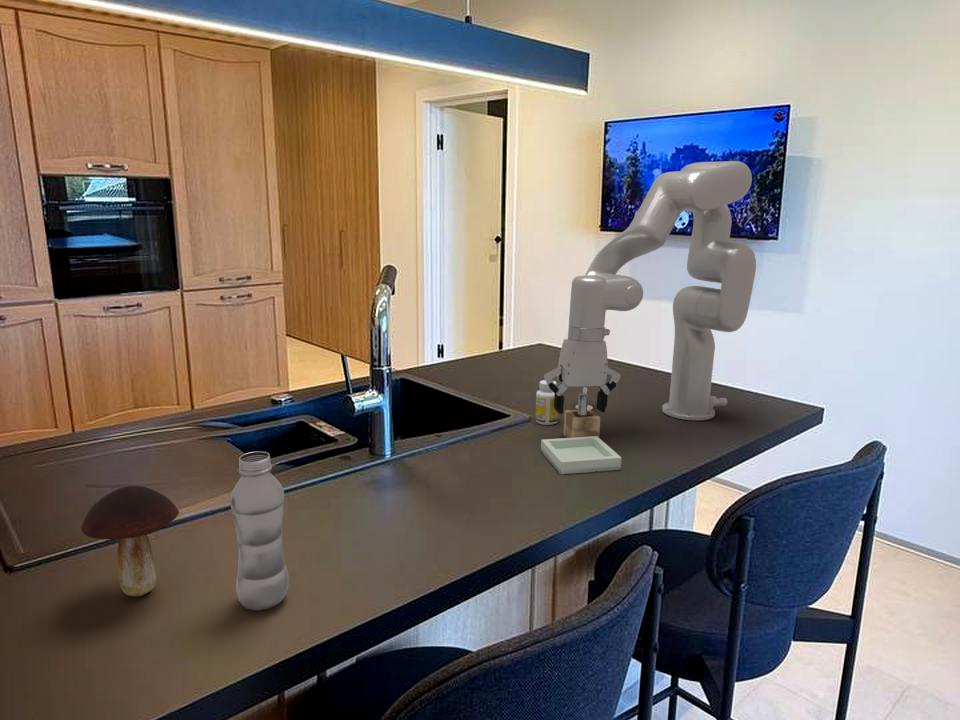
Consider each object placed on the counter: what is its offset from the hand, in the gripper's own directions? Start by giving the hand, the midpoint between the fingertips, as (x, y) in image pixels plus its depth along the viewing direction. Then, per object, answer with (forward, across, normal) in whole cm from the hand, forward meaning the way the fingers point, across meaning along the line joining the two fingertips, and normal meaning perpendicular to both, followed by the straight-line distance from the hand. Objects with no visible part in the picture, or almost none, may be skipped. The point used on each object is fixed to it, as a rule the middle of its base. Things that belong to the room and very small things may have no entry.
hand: (579, 411), depth 145 cm
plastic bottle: (+9, +62, +50) cm, 80 cm away
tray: (+7, +4, +12) cm, 14 cm away
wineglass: (+6, -10, -21) cm, 24 cm away
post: (+6, -1, 0) cm, 6 cm away
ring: (+6, -1, 0) cm, 6 cm away
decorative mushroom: (+9, +78, +45) cm, 90 cm away
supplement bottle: (+6, +3, -12) cm, 14 cm away
